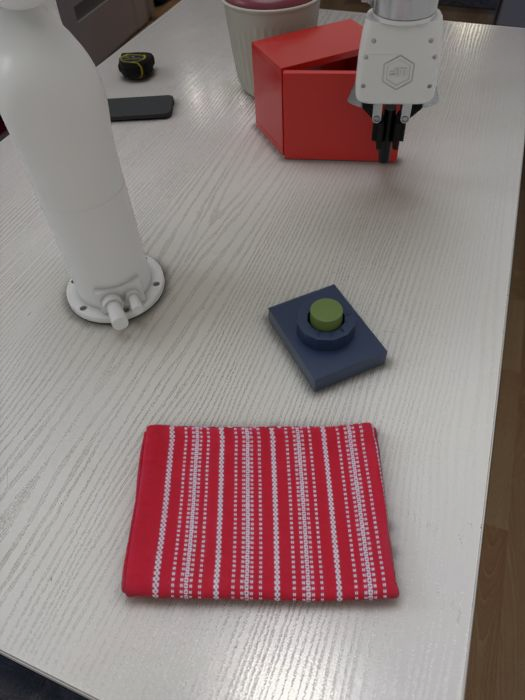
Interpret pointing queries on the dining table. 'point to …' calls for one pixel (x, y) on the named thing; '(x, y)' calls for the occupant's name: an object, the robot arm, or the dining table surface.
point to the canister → (263, 27)
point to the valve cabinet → (298, 66)
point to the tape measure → (136, 64)
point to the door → (331, 119)
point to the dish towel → (260, 515)
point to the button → (326, 315)
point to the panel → (326, 340)
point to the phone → (140, 107)
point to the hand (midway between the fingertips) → (386, 144)
